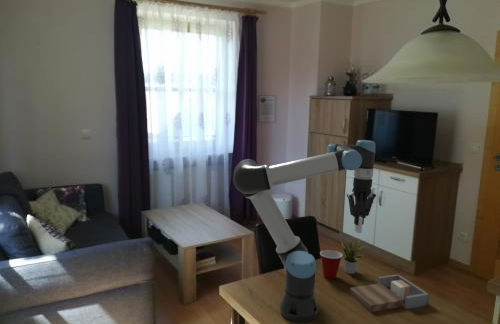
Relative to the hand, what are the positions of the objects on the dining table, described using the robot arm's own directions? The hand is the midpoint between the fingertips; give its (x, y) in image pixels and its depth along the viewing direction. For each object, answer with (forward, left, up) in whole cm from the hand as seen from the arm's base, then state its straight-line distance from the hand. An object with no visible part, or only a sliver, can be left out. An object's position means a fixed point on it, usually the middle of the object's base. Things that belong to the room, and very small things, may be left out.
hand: (357, 231), depth 164 cm
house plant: (+13, +21, -30) cm, 39 cm away
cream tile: (+17, -6, -27) cm, 32 cm away
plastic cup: (-1, +19, -30) cm, 35 cm away
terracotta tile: (+20, -6, -27) cm, 34 cm away
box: (+21, -6, -29) cm, 37 cm away
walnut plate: (+7, -6, -29) cm, 31 cm away
